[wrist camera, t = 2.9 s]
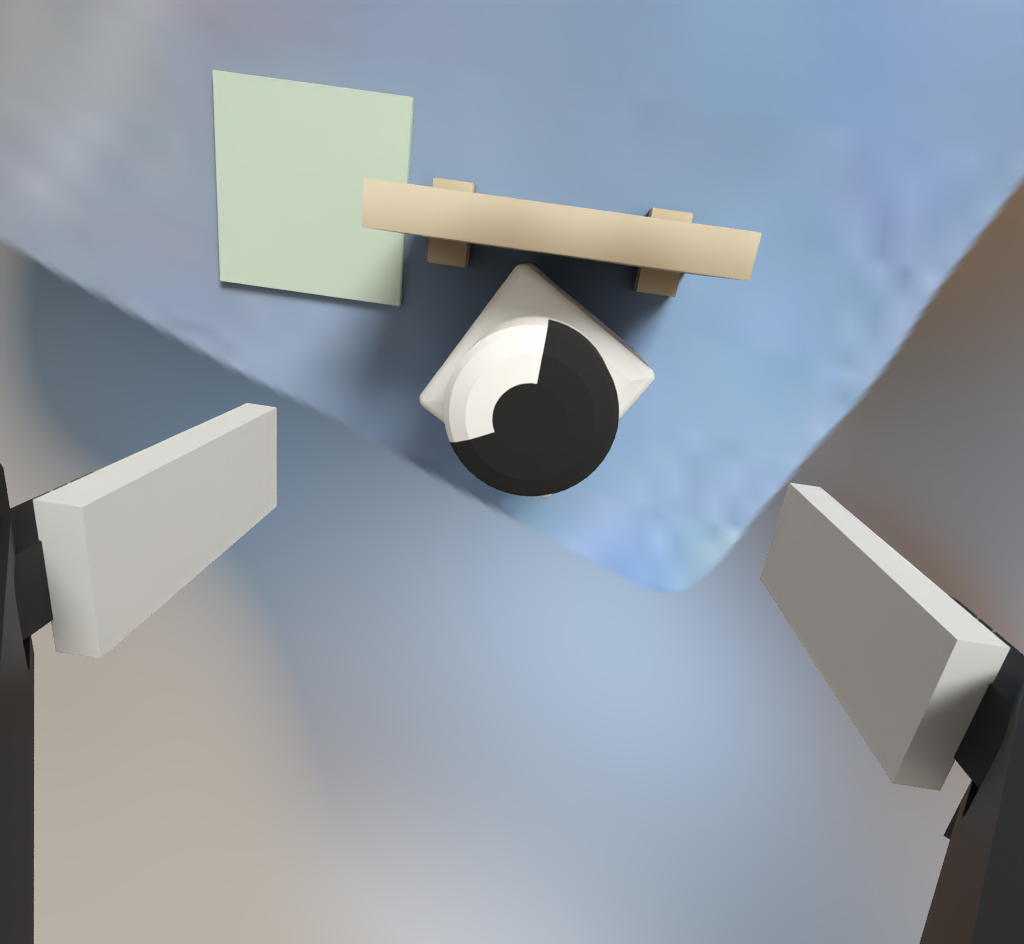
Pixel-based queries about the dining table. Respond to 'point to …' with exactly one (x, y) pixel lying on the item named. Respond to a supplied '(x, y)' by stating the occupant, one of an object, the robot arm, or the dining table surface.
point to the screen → (558, 232)
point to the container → (535, 388)
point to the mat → (307, 185)
